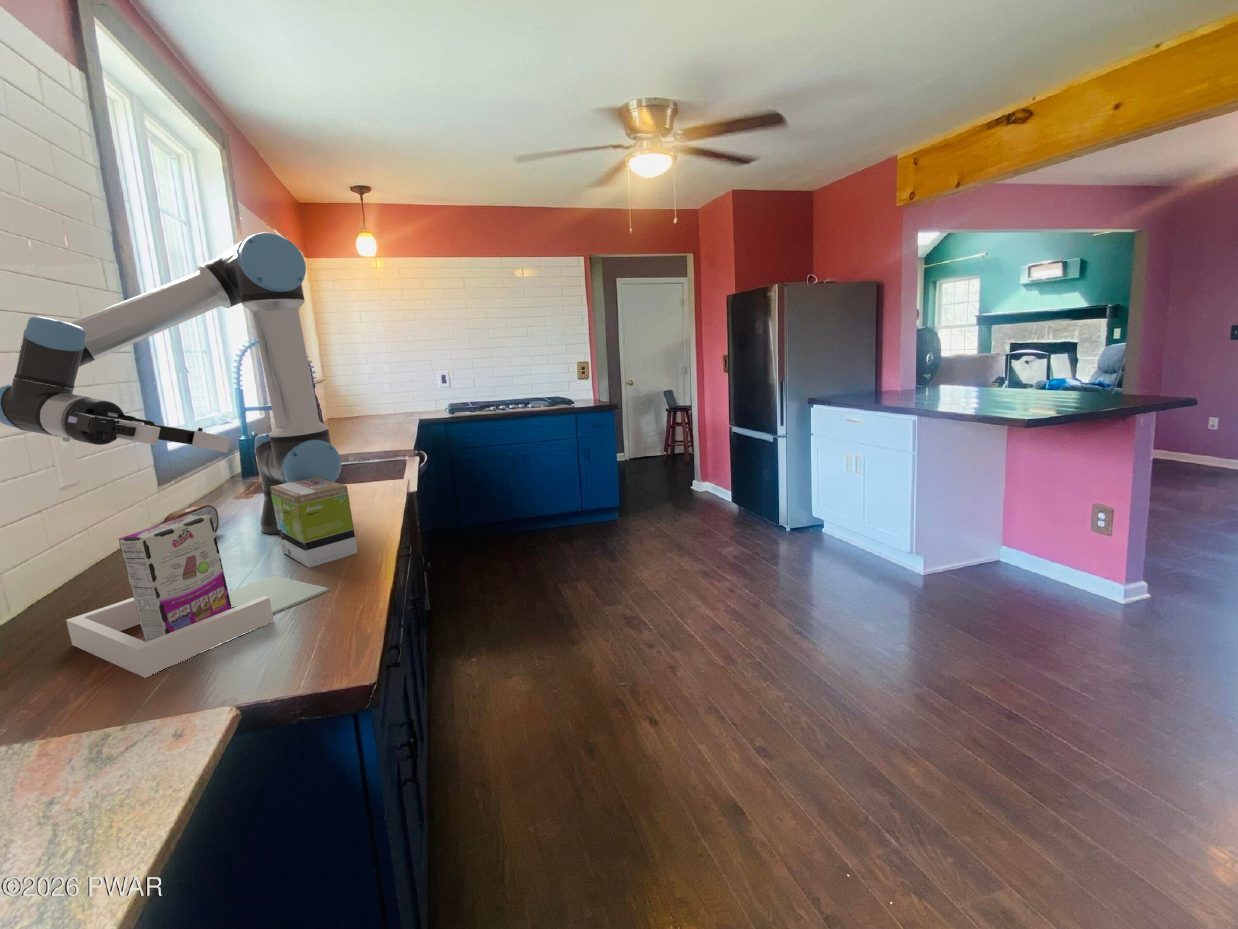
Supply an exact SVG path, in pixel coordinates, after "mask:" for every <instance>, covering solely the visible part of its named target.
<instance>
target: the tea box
mask: <svg viewBox="0 0 1238 929" xmlns="http://www.w3.org/2000/svg"><path fill="white" fill-rule="evenodd" d="M270 490H271V496H272V501H273V506H274V511H275V516H276V521H277V527H278V531H279V534H278V536H279V542H280V547H281V551H282V553H284V554H286V555H288V556H289V557H291V558H292V559H294V560H295V561H296V562H299V563H301V564H302V565H304V566H305V567H307V568H308V569H310V568H314V567H317V566H321V565H323V564H327V563H330V562H334V561H337V560H342V559H344V558H347V557H350V556H353V555H356V554H358V547H357V546H358V545H357V539H356V534H355V528H354V527H355V526H354V523H353V522H354V520H353V516H352V515H353V514H352V510H351V503H350V495H349V490H348V486H347V485H345V484H343V483H338V482H336V481H335V482H333V481H330V480H326V479H323V478H320V477H314V478H310V479H305V480H299V481H294V482H290V483H285V484H281V485H276V486H270Z"/></svg>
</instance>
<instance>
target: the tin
mask: <svg viewBox="0 0 1238 929" xmlns="http://www.w3.org/2000/svg"><path fill="white" fill-rule="evenodd" d="M188 515H211V518H212V522H213V526H214V531H215V534H216V533H217V531H218V529H219V527H220V525H219V524H220V523H219V522H220V521H219V514H218V510H217V508H215V507H214V506H213V505H211V504H201V503H195V504H193V505H191V506H188V507H184V508H182V509H179V510H176V511H173V512H171V513H169V514H168V515H166V516H165V518H164V519H163V521H162V523H161V524H163V523H166V522H169V521H172V520H176V519H179V518H181V517H184V516H188Z"/></svg>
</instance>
